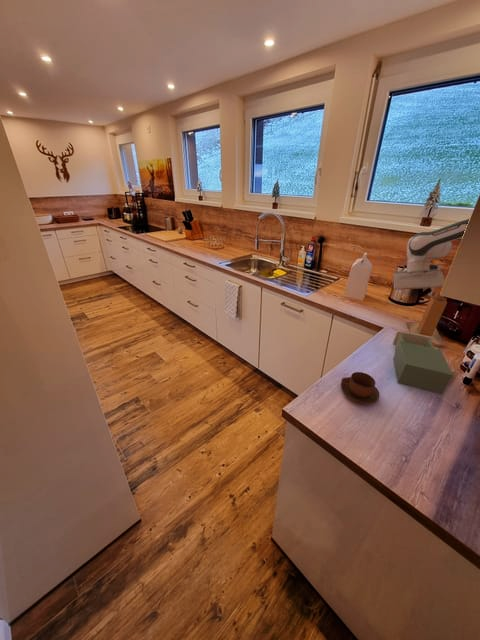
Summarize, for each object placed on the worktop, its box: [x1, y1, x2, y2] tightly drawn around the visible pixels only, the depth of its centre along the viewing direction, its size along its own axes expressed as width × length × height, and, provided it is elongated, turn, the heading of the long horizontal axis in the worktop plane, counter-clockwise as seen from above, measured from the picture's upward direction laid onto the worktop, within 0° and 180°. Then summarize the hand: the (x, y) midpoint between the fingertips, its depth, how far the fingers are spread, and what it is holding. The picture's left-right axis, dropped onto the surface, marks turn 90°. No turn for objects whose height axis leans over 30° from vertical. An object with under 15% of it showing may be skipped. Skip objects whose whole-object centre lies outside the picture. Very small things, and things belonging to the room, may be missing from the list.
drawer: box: [391, 329, 435, 351], centre depth 107 cm, size 19×12×7 cm, turn 158°
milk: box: [342, 252, 373, 302], centre depth 157 cm, size 12×12×26 cm
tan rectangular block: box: [418, 292, 448, 336], centre depth 118 cm, size 5×5×20 cm
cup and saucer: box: [340, 371, 381, 405], centre depth 87 cm, size 12×12×6 cm
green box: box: [392, 341, 454, 395], centre depth 95 cm, size 16×14×9 cm
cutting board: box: [406, 321, 446, 349], centre depth 123 cm, size 12×18×2 cm, turn 158°
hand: (418, 297), depth 126 cm, fingers open, 8 cm apart
